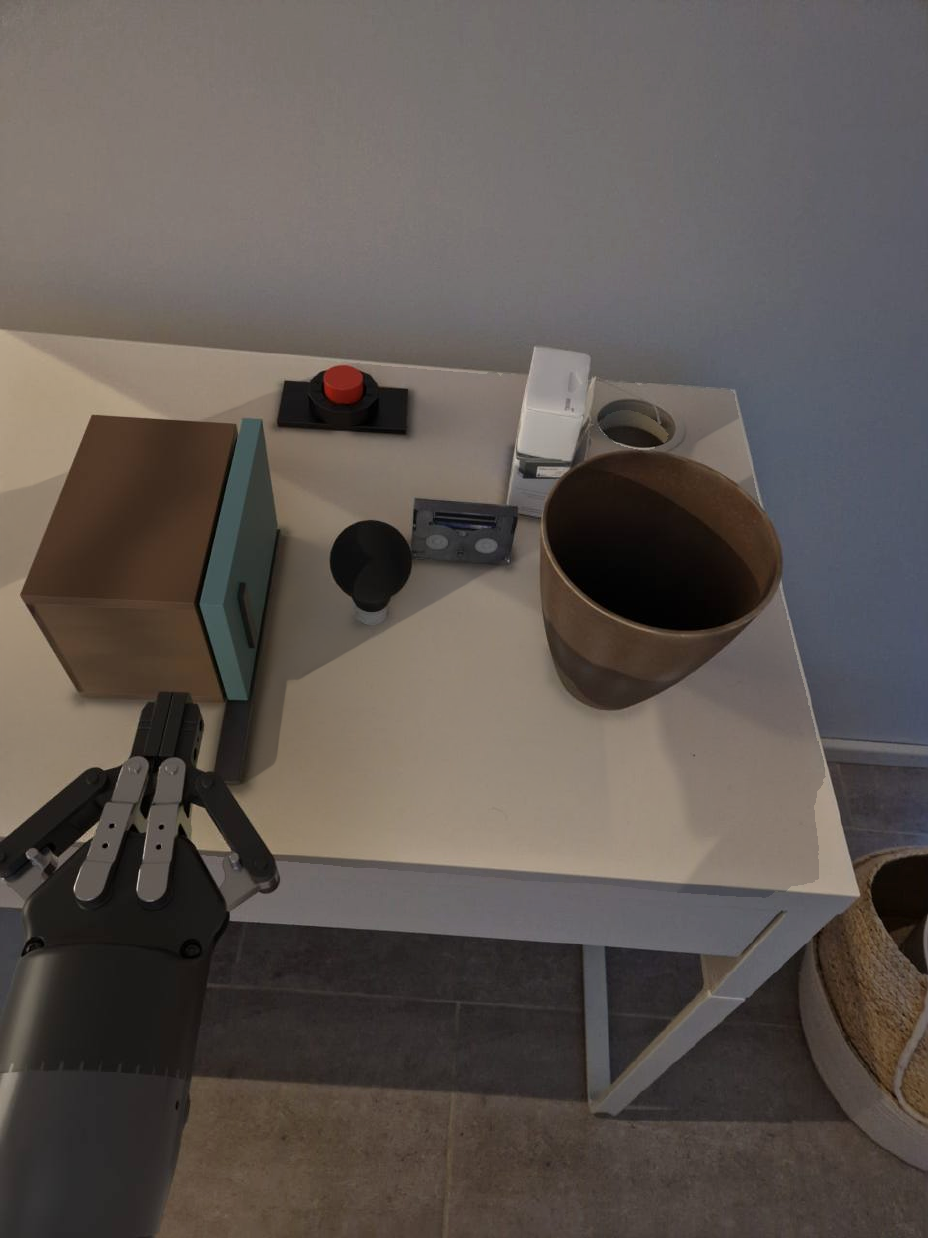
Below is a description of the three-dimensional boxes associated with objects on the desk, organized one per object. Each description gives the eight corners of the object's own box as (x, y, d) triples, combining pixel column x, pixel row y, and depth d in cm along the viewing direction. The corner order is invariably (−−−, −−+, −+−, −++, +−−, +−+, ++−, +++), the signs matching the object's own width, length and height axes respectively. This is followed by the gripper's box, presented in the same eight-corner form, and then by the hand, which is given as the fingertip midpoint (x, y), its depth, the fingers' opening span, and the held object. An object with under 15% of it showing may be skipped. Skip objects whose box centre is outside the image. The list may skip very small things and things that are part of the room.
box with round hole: (577, 404, 80) (597, 364, 76) (655, 430, 81) (677, 392, 77) (563, 501, 72) (584, 462, 68) (649, 529, 73) (675, 492, 69)
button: (322, 403, 73) (321, 388, 72) (326, 378, 75) (325, 363, 74) (361, 406, 74) (361, 390, 72) (364, 381, 76) (364, 365, 74)
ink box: (513, 448, 75) (533, 340, 66) (564, 456, 75) (592, 350, 66) (503, 512, 70) (523, 406, 61) (558, 522, 70) (587, 417, 61)
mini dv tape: (507, 552, 68) (518, 502, 63) (508, 565, 67) (518, 517, 62) (411, 544, 67) (414, 494, 62) (410, 558, 66) (413, 508, 61)
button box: (277, 428, 74) (274, 407, 72) (285, 384, 78) (283, 362, 76) (405, 436, 75) (406, 416, 73) (408, 392, 79) (408, 371, 77)
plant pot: (680, 788, 56) (771, 668, 43) (481, 719, 58) (511, 585, 45) (710, 628, 65) (793, 488, 52) (536, 572, 67) (575, 424, 54)
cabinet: (55, 781, 52) (-18, 688, 43) (134, 526, 65) (92, 411, 56) (239, 786, 53) (209, 696, 44) (281, 534, 66) (265, 422, 57)
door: (227, 699, 56) (199, 604, 47) (260, 524, 66) (242, 417, 56) (254, 700, 56) (230, 605, 47) (282, 526, 66) (268, 419, 57)
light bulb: (338, 586, 64) (333, 499, 56) (411, 592, 64) (416, 506, 56) (329, 646, 60) (322, 563, 52) (406, 652, 61) (410, 570, 53)
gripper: (250, 1080, 28) (303, 666, 38) (-144, 1081, 27) (16, 654, 37) (272, 1098, 34) (312, 736, 44) (-49, 1099, 33) (66, 728, 43)
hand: (177, 699), depth 41 cm, fingers closed
